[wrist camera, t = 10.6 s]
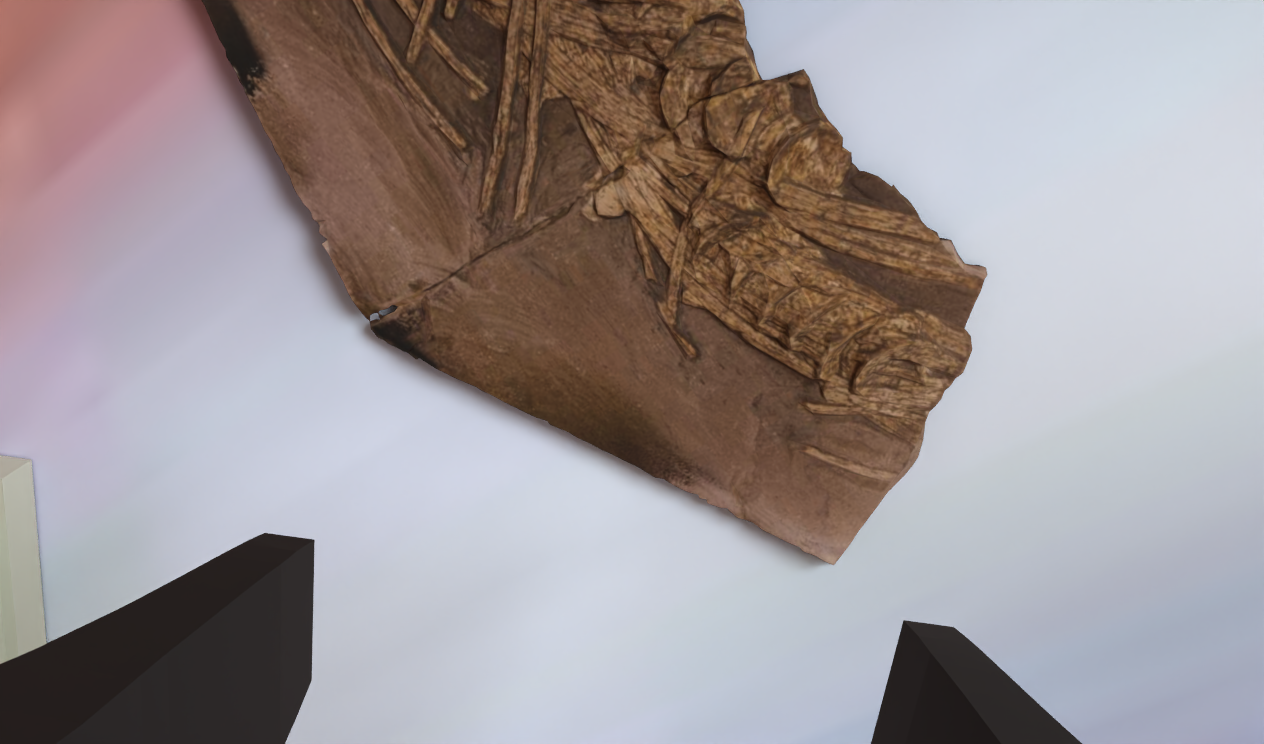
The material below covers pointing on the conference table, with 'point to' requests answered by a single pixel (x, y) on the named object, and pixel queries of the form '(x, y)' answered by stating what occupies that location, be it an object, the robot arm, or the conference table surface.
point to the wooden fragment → (621, 236)
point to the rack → (19, 562)
